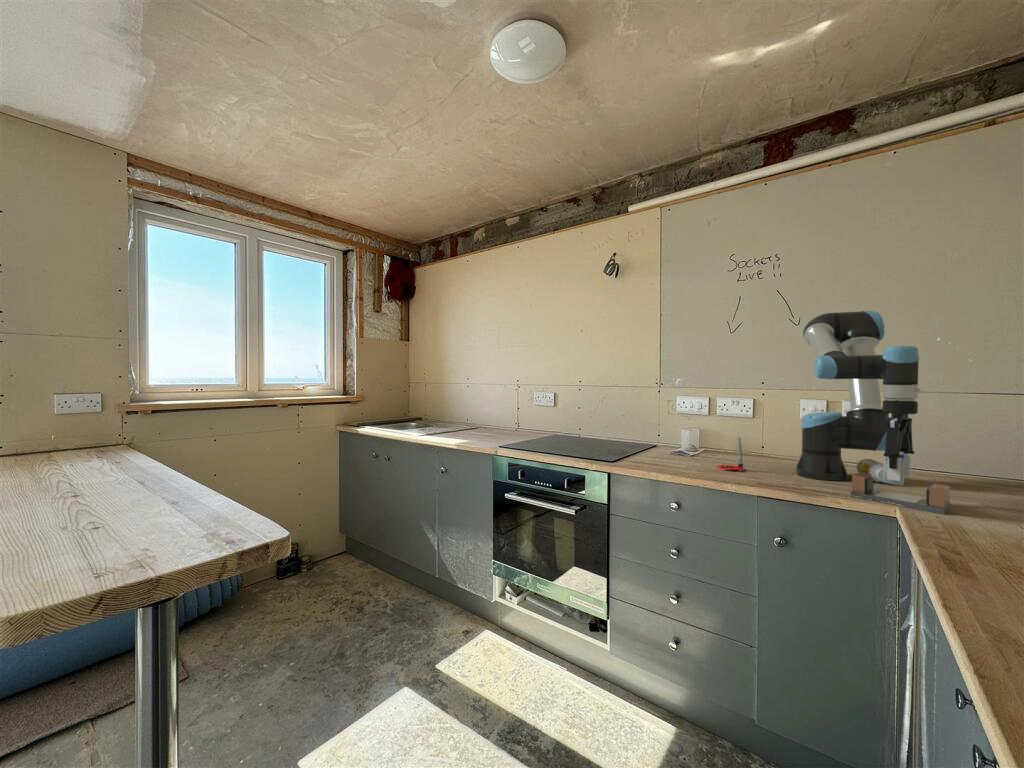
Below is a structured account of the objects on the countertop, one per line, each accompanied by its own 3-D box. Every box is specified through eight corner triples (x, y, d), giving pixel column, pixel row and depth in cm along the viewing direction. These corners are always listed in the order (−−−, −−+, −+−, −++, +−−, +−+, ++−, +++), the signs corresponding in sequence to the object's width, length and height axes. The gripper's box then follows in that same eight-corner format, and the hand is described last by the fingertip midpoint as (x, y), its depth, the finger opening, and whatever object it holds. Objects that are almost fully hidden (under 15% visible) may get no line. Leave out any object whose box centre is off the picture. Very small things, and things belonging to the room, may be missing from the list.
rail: (850, 496, 128) (851, 475, 128) (860, 492, 133) (860, 471, 133) (943, 514, 112) (943, 490, 112) (950, 508, 116) (951, 485, 116)
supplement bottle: (862, 479, 154) (880, 488, 142) (852, 463, 155) (869, 470, 143) (882, 471, 152) (902, 480, 140) (871, 455, 153) (890, 462, 141)
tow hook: (716, 471, 165) (743, 472, 160) (714, 438, 165) (741, 438, 160) (717, 467, 172) (743, 468, 167) (716, 435, 172) (741, 436, 168)
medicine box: (883, 478, 127) (884, 449, 127) (903, 480, 124) (904, 451, 124) (883, 482, 122) (884, 453, 121) (904, 485, 119) (905, 455, 118)
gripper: (906, 401, 113) (905, 485, 113) (927, 399, 125) (926, 475, 125) (870, 400, 119) (869, 480, 119) (894, 398, 131) (893, 470, 131)
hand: (898, 477), depth 122 cm, fingers closed on medicine box, 8 cm apart
